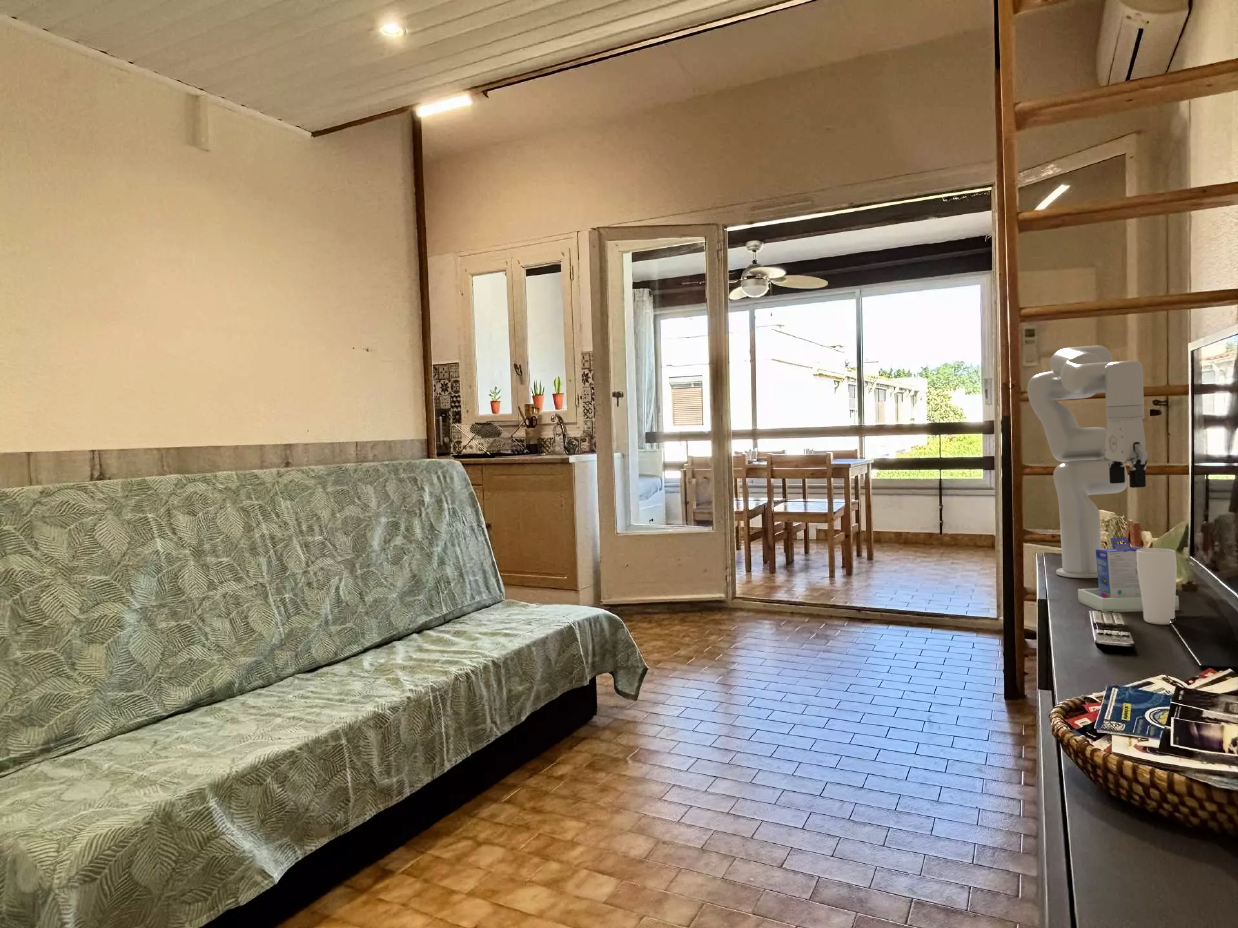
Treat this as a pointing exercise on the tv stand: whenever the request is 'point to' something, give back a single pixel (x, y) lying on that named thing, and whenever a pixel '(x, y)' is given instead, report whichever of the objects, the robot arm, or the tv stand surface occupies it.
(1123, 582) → the ink cartridge box
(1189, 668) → the tv stand surface
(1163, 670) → the tv stand surface
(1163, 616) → the drinking glass
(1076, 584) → the tv stand surface
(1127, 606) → the tray
